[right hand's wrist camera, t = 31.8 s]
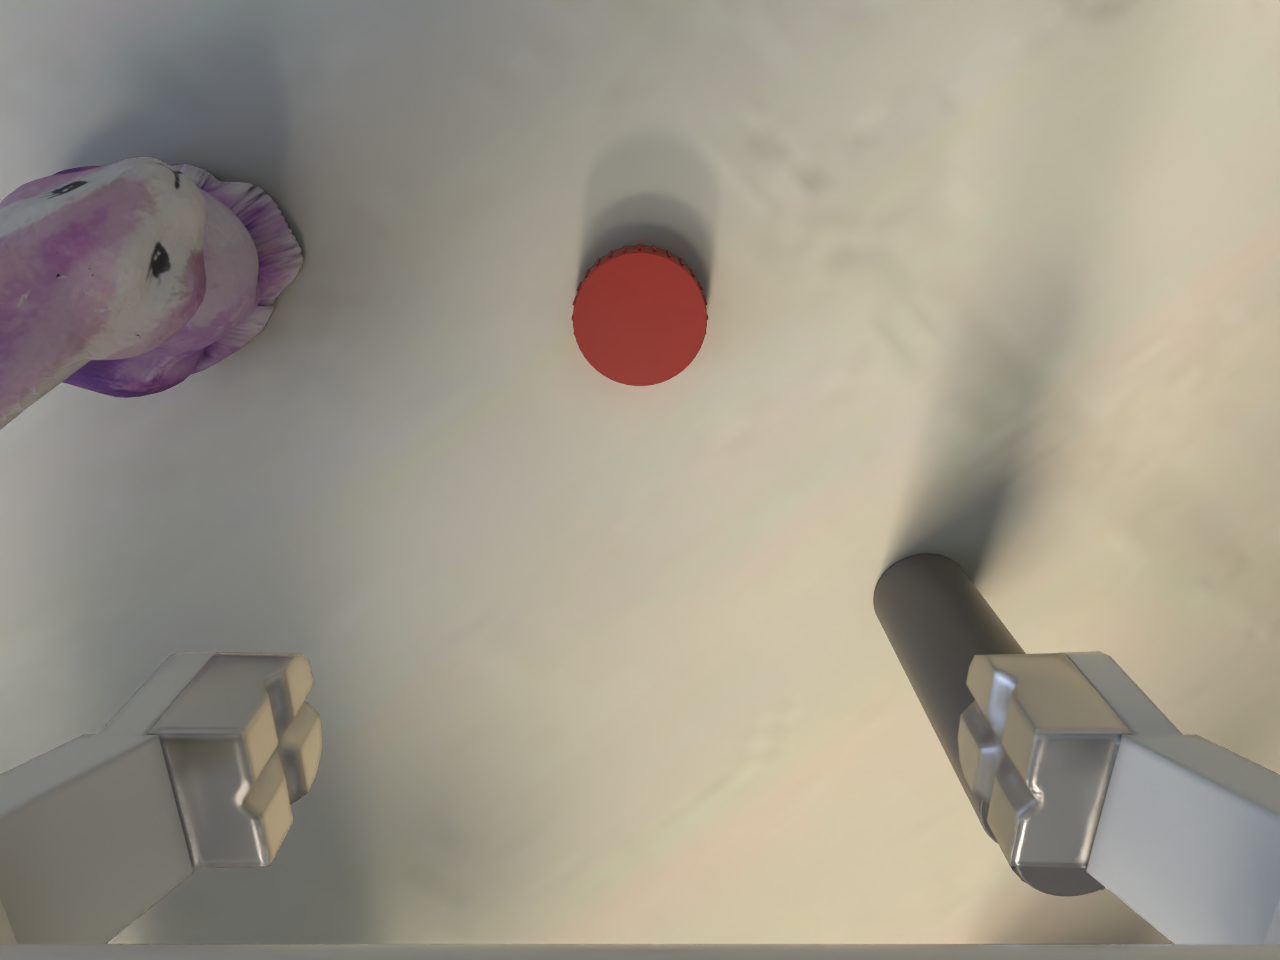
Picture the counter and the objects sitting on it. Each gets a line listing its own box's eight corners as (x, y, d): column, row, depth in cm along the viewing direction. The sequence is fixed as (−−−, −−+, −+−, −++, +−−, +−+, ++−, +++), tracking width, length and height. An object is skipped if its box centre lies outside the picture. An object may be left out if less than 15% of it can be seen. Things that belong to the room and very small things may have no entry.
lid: (723, 269, 34) (729, 277, 32) (678, 390, 36) (680, 405, 34) (598, 224, 34) (595, 230, 32) (558, 350, 35) (553, 363, 33)
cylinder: (854, 591, 40) (975, 843, 25) (934, 535, 39) (1109, 766, 24) (907, 652, 41) (1051, 926, 27) (986, 600, 40) (1181, 857, 26)
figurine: (335, 176, 33) (108, 199, 19) (275, 409, 36) (46, 574, 22) (88, 74, 31) (-352, 19, 17) (51, 326, 35) (-341, 448, 21)
